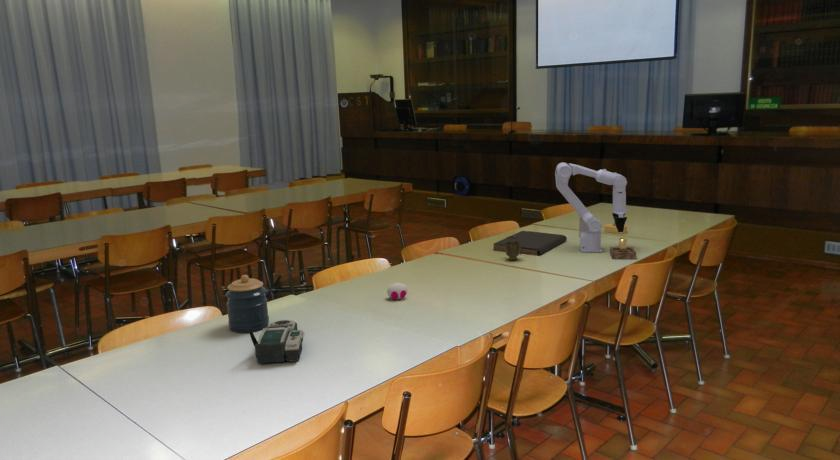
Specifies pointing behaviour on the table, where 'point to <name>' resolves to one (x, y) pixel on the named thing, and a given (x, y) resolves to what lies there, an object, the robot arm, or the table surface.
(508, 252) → the cup
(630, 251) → the box
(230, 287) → the canister
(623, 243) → the peg
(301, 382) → the table surface
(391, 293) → the stress ball
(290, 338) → the communication device
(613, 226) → the rubber stamp
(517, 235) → the file folder
